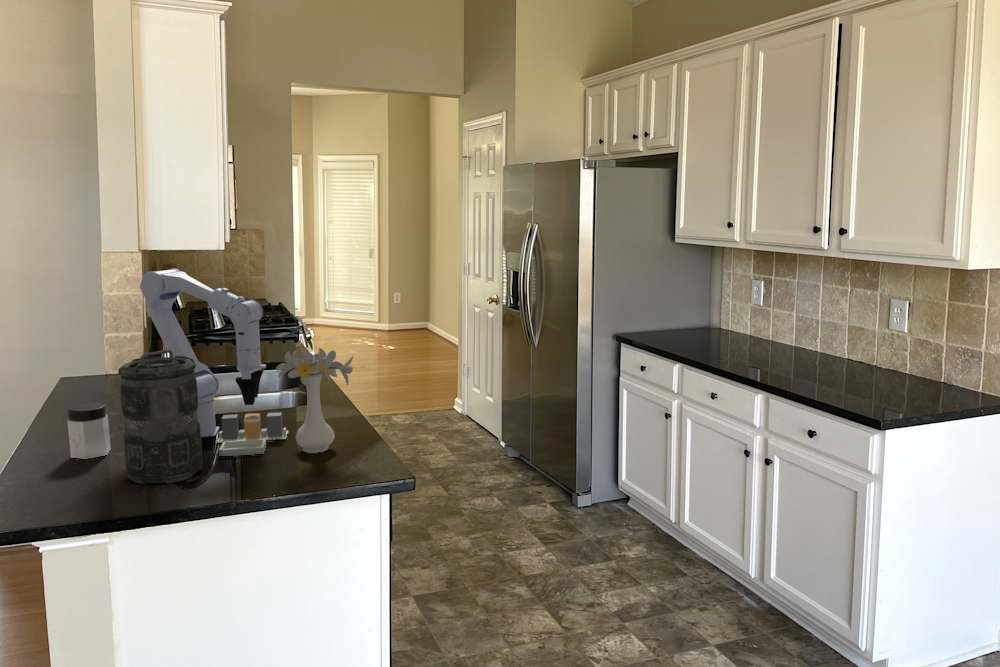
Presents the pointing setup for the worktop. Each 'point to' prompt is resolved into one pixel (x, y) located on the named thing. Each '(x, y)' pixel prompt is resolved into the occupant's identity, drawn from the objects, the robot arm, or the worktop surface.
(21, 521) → the worktop surface
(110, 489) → the worktop surface
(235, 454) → the tray
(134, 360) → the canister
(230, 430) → the panel
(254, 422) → the block
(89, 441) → the jar
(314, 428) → the flower vase
